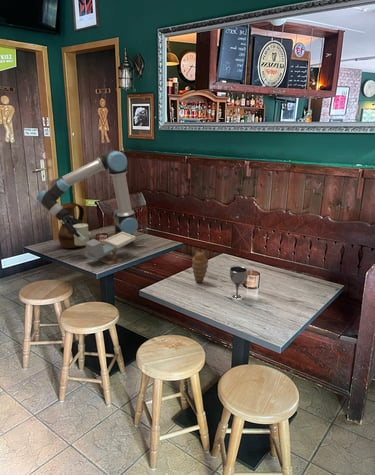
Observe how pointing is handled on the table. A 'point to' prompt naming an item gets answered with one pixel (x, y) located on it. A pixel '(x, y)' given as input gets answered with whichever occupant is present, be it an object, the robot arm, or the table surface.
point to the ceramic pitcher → (64, 234)
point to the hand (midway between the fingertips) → (86, 237)
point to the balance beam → (107, 245)
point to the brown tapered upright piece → (199, 266)
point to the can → (83, 231)
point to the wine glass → (237, 277)
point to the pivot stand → (110, 258)
